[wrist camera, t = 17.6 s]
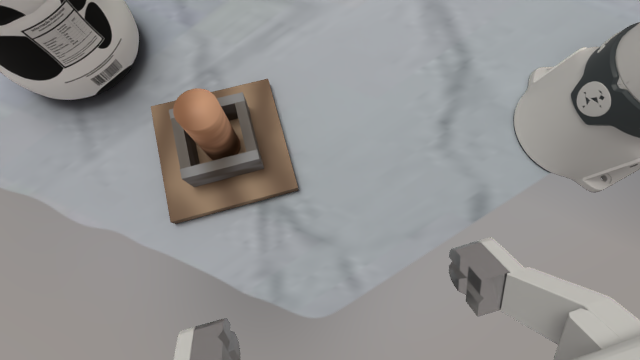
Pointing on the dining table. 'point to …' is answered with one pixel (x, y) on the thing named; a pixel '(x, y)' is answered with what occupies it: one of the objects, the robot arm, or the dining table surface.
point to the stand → (230, 172)
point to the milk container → (67, 45)
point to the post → (206, 123)
